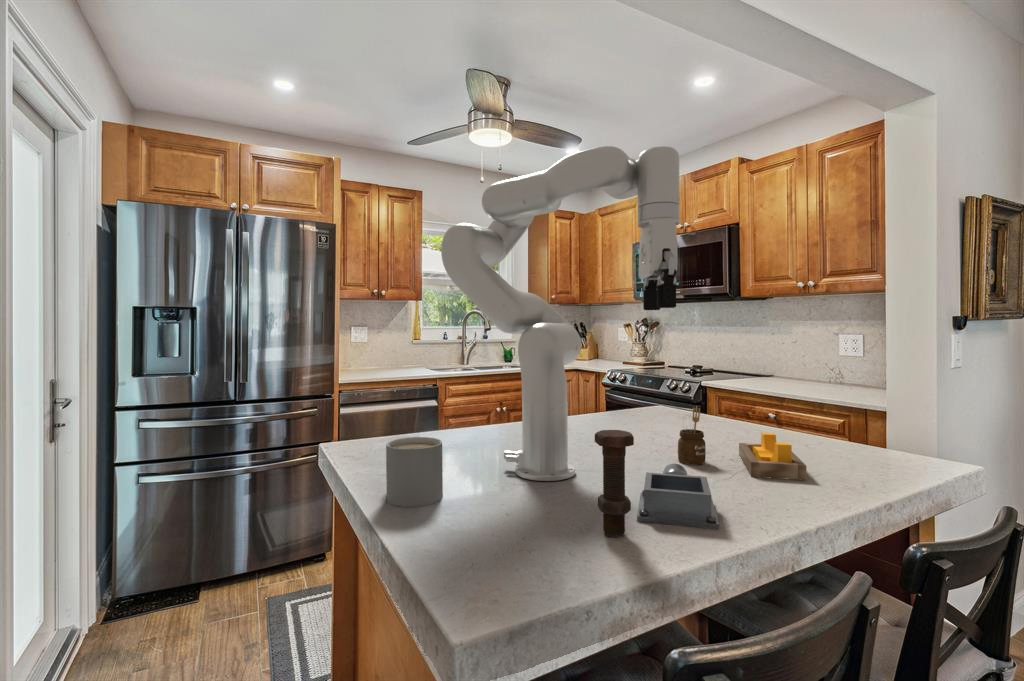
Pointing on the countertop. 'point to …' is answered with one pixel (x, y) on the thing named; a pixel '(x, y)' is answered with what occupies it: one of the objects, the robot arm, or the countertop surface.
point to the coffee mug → (414, 471)
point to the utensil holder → (692, 444)
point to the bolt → (614, 480)
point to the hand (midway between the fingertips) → (658, 308)
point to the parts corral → (771, 465)
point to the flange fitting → (677, 499)
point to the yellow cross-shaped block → (772, 449)
